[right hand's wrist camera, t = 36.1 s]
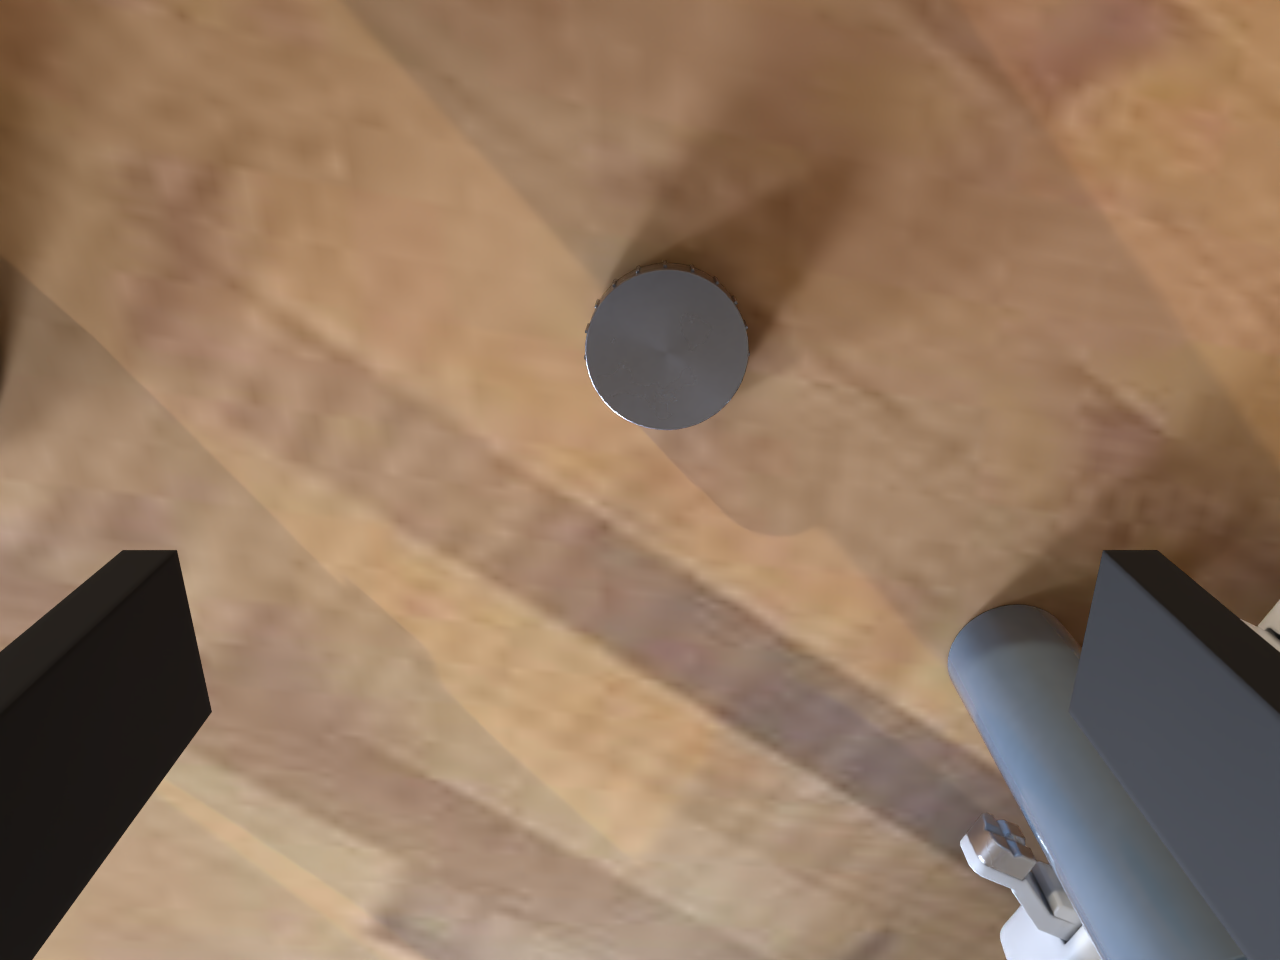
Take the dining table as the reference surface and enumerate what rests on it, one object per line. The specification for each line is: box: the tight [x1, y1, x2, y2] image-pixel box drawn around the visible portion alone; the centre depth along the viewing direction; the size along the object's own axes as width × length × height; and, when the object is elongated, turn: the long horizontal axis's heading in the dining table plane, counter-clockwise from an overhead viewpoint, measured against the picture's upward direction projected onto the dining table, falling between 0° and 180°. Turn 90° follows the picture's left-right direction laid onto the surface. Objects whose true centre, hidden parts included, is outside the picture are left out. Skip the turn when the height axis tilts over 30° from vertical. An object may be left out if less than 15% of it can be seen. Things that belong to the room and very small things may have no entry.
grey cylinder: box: [948, 605, 1248, 960], centre depth 28 cm, size 5×5×18 cm
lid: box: [584, 261, 750, 430], centre depth 31 cm, size 6×6×2 cm
